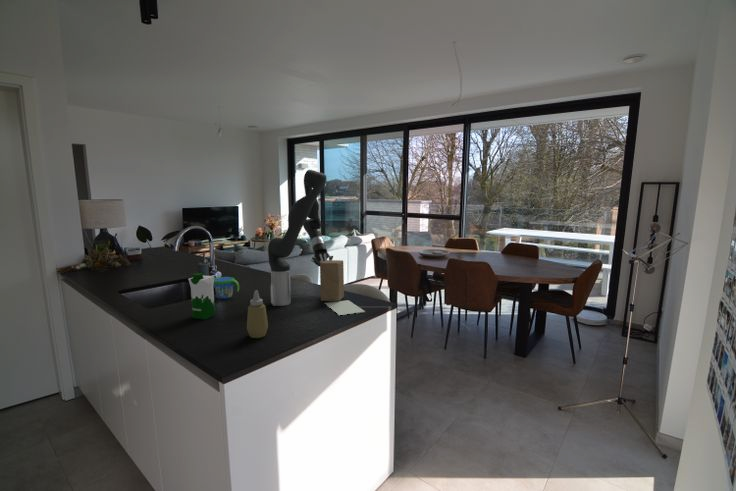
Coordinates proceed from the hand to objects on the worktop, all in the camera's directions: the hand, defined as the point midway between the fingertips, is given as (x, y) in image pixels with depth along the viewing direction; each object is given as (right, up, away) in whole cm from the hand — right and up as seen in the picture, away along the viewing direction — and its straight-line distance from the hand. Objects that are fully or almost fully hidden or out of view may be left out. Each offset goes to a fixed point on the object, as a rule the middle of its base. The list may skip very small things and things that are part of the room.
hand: (326, 271), depth 200 cm
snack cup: (-54, -14, -4) cm, 56 cm away
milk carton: (-51, -18, -34) cm, 64 cm away
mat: (+11, -16, -21) cm, 29 cm away
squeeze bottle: (-20, -21, -57) cm, 64 cm away
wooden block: (+4, -14, -7) cm, 16 cm away
